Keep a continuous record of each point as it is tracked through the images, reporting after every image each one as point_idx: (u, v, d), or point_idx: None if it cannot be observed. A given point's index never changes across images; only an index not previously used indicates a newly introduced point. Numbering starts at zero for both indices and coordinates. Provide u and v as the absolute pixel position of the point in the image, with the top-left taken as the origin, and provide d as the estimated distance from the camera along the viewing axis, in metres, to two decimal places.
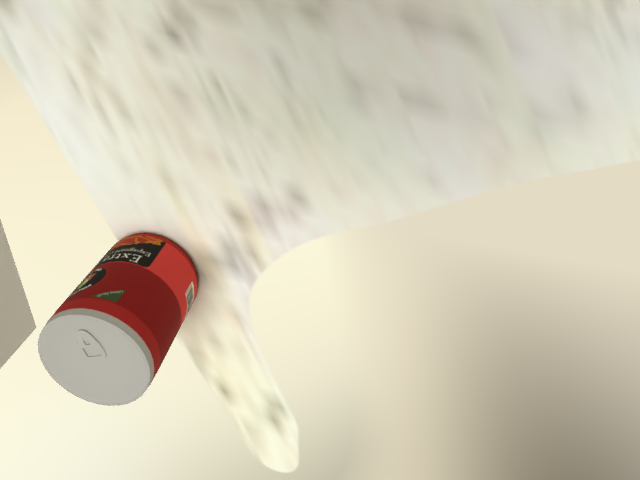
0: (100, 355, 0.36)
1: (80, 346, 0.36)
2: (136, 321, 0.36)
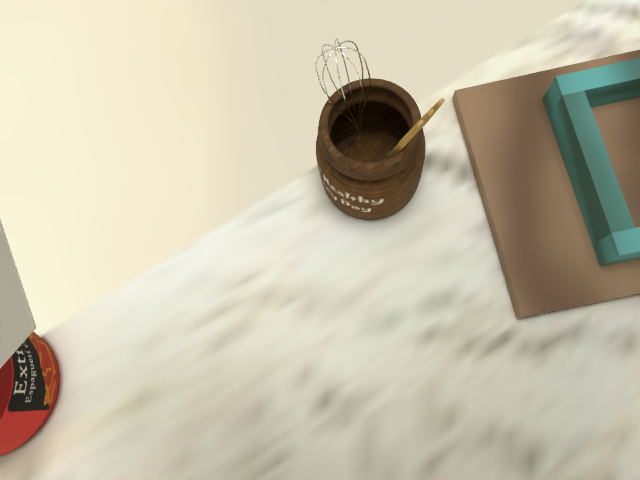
0: None
1: None
2: None
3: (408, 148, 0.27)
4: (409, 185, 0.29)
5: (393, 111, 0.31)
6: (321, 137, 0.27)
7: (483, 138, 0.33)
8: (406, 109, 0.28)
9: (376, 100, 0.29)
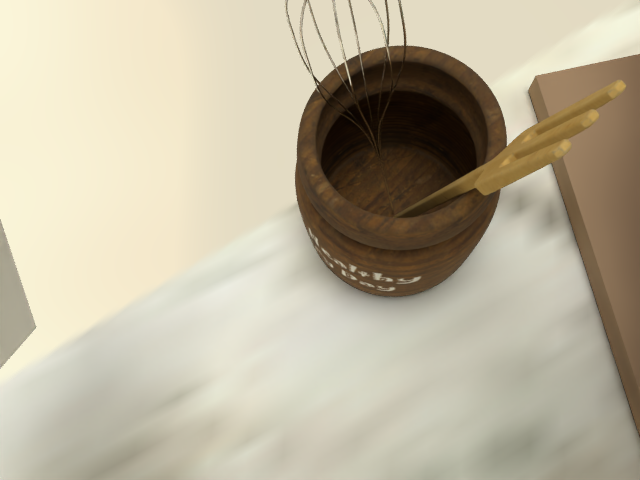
0: None
1: None
2: None
3: None
4: (469, 250, 0.16)
5: (437, 110, 0.17)
6: (302, 163, 0.13)
7: (588, 158, 0.19)
8: (470, 107, 0.14)
9: (410, 89, 0.15)
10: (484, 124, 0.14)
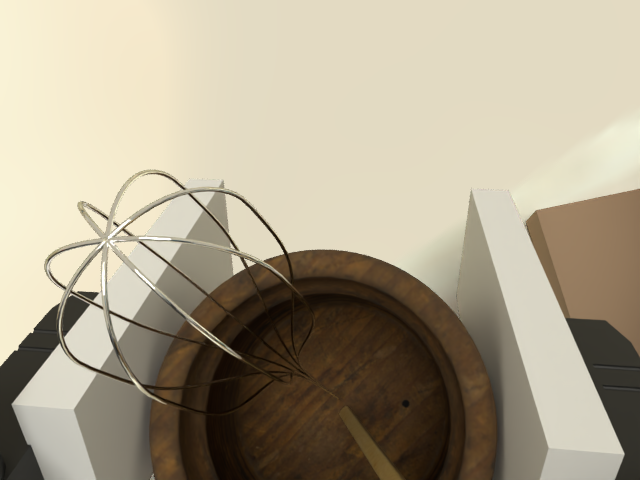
0: None
1: None
2: None
3: None
4: None
5: None
6: (153, 463, 0.08)
7: None
8: None
9: (347, 293, 0.10)
10: None
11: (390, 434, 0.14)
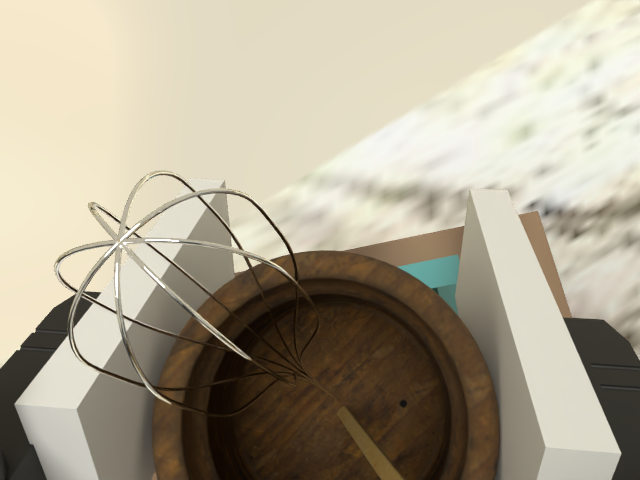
0: None
1: None
2: None
3: None
4: None
5: None
6: (155, 464, 0.08)
7: None
8: (441, 340, 0.09)
9: (349, 294, 0.10)
10: None
11: (387, 434, 0.14)
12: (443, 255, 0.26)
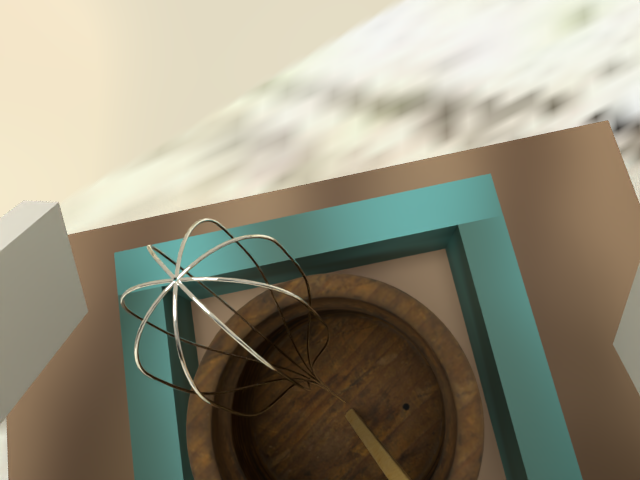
0: None
1: None
2: None
3: None
4: None
5: None
6: (190, 457, 0.09)
7: None
8: None
9: (355, 310, 0.11)
10: None
11: (392, 434, 0.15)
12: None
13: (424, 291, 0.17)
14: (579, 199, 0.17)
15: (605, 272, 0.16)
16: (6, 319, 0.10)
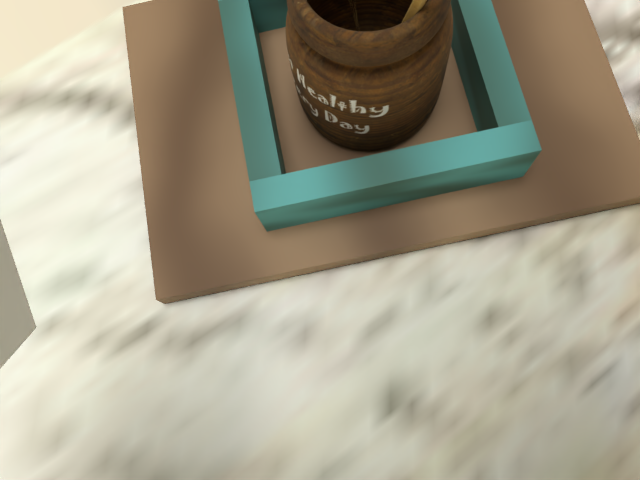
0: None
1: None
2: None
3: (430, 8, 0.16)
4: (428, 85, 0.19)
5: None
6: None
7: (147, 67, 0.25)
8: None
9: None
10: None
11: None
12: None
13: None
14: None
15: (544, 2, 0.24)
16: None
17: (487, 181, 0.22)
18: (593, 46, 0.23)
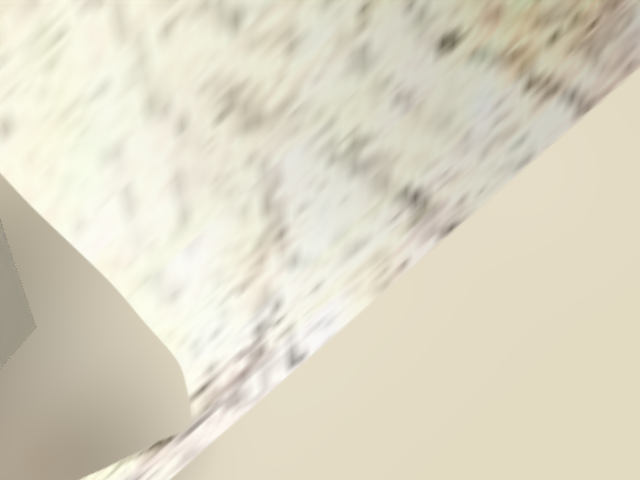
0: None
1: None
2: None
3: None
4: None
5: None
6: None
7: None
8: None
9: None
10: None
11: None
12: None
13: None
14: None
15: None
16: None
17: None
18: None
